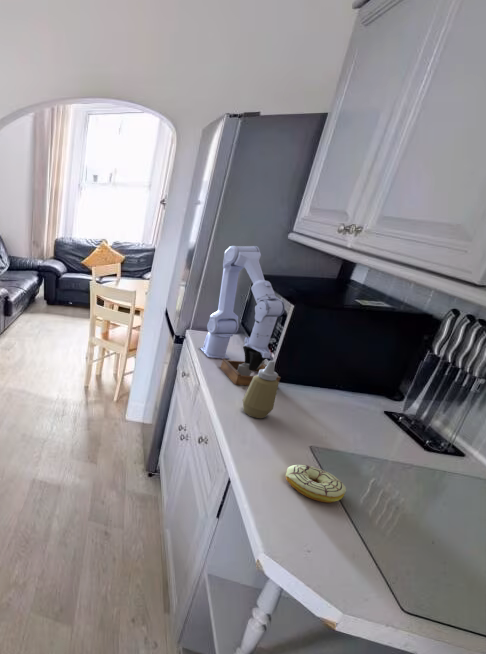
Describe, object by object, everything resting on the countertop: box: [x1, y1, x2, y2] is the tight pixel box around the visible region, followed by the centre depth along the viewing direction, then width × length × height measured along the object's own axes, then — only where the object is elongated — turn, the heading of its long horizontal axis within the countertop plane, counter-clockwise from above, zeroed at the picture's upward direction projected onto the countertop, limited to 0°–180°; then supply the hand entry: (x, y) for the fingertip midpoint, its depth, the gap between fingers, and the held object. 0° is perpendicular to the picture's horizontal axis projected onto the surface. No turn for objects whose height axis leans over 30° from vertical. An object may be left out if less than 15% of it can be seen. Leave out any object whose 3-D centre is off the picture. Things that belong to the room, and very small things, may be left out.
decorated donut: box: [285, 464, 347, 503], centre depth 92 cm, size 10×11×4 cm
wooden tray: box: [219, 358, 281, 387], centre depth 143 cm, size 14×14×4 cm
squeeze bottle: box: [242, 360, 280, 419], centre depth 118 cm, size 8×8×18 cm
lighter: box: [237, 360, 266, 376], centre depth 143 cm, size 7×2×8 cm, turn 61°
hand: (250, 368), depth 143 cm, fingers closed on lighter, 3 cm apart
